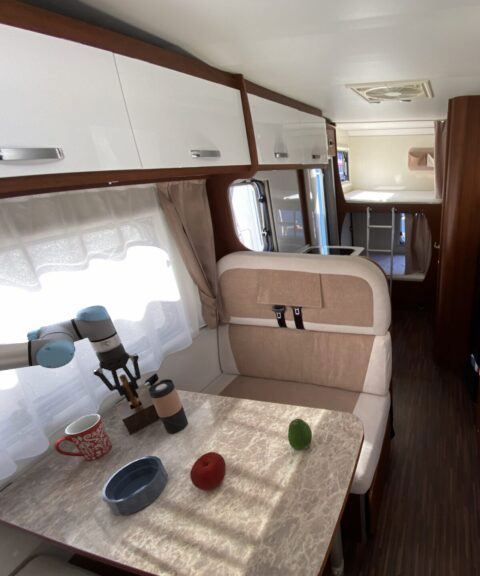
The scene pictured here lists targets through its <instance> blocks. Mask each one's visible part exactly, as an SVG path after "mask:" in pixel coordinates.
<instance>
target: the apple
mask: <svg viewBox="0 0 480 576" xmlns="http://www.w3.org/2000/svg"><path fill="white" fill-rule="evenodd" d="M226 466H227V465H226V460H225V458H224V457H223V456H222V454H220V453H218V452H217V451H216V452H215V451H209V452H206V453H204V454H202V455H201V456H200V457H198V458H197V459H196V460H195V461H194V463H193V464H192V466H191V469H190V471H189V478H190V481H191V483H192V485H193V486H194V487H196V489H198V490H201V491H210V490H213V489H215V488H217V487H218V486H219V485H221V484H222V482H223V481H224V479H225V476H226V471H227V468H226Z"/></svg>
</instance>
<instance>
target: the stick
mask: <svg viewBox="0 0 480 576" xmlns="http://www.w3.org/2000/svg"><path fill="white" fill-rule="evenodd" d="M118 379H119V382H120V384H121V385H123V386H124V388H125V391H126V393H127V395H128V397H129V399H130V401H131V403H132V406H133V408H136V407H138V406H140V404H139V402H138V400H137V398H136V396H135V394H134V392H133V390H132V388H131V386H130V384H129V382H130V381H129V378H128V376H127V374H126V373H121V374H119V376H118Z"/></svg>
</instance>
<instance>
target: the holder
mask: <svg viewBox="0 0 480 576" xmlns="http://www.w3.org/2000/svg"><path fill="white" fill-rule="evenodd" d="M138 396H139V398H137V400H138V402H139V404H140V406H138V407H136V408H133V406H132V403H131V401H130V402H128V401H125V402H124V403H122V404H121V403H120V404H119V405H117V406H116V409H117V411H118V414H119V416H120V418H121V421H122V423H123V425H124V427H125V428H126V430H127V433H128V434H129V436H132V435H134V434H136V433H138V432H139V431H142V430H143V429H145V428H147V427H149V426H151V425H152V424H154V423H156V422H158V421H161V419H160V417H159V415H158V413H157V411H156V408H155V406H154V403H153V401H152V399H151V396H150V394H149V391H147V392H145V393H143V394H140V395H138Z"/></svg>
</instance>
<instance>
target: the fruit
mask: <svg viewBox="0 0 480 576" xmlns="http://www.w3.org/2000/svg"><path fill="white" fill-rule="evenodd" d="M287 439H288V443H289V446H290V447H291V448H292V449H294V450H296V451H301V450H304V449H306V448H307V447H308V446H310V444H311V442H312V439H313V433H312V429H311V426H310V425H309V424H308V423H307V422H306V421H305V420H303V419H302V418H294V419H293V420H291V421H290V423H289V425H288V431H287Z"/></svg>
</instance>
